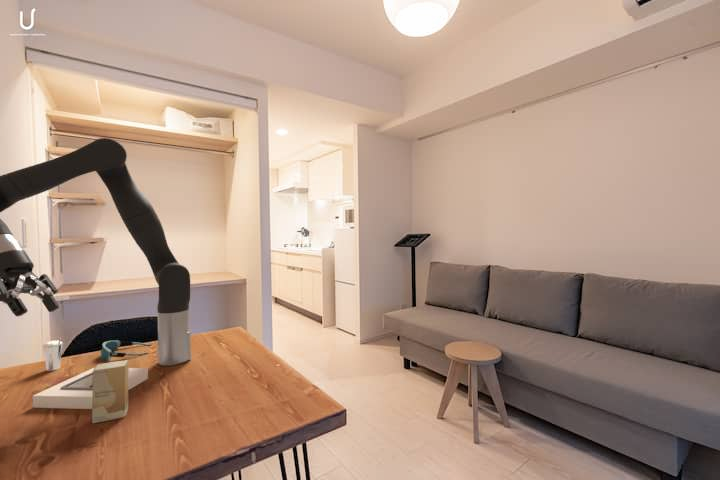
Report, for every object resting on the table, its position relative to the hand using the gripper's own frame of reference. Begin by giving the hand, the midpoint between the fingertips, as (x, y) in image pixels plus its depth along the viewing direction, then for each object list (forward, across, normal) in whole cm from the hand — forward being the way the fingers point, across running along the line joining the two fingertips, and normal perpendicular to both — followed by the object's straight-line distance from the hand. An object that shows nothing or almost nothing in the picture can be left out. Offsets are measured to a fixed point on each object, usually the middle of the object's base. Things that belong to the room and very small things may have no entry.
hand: (39, 312), depth 78 cm
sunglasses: (+15, +42, +15) cm, 47 cm away
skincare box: (+31, -2, -2) cm, 31 cm away
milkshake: (+8, +29, +27) cm, 40 cm away
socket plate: (+23, +11, +7) cm, 26 cm away
